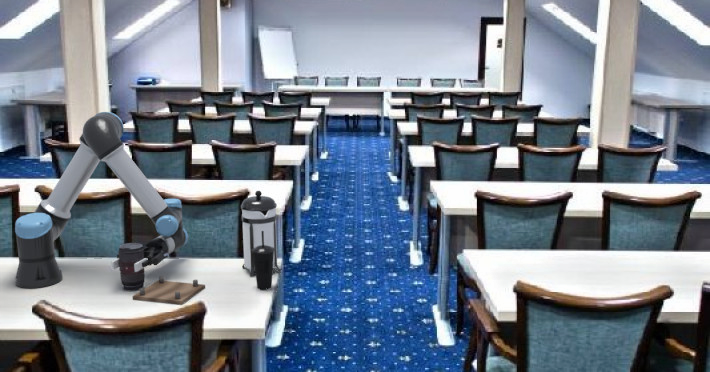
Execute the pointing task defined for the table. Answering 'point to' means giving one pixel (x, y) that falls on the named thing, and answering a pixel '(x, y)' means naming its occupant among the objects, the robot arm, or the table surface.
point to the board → (169, 291)
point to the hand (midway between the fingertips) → (123, 266)
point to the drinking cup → (263, 265)
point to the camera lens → (131, 266)
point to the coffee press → (258, 227)
